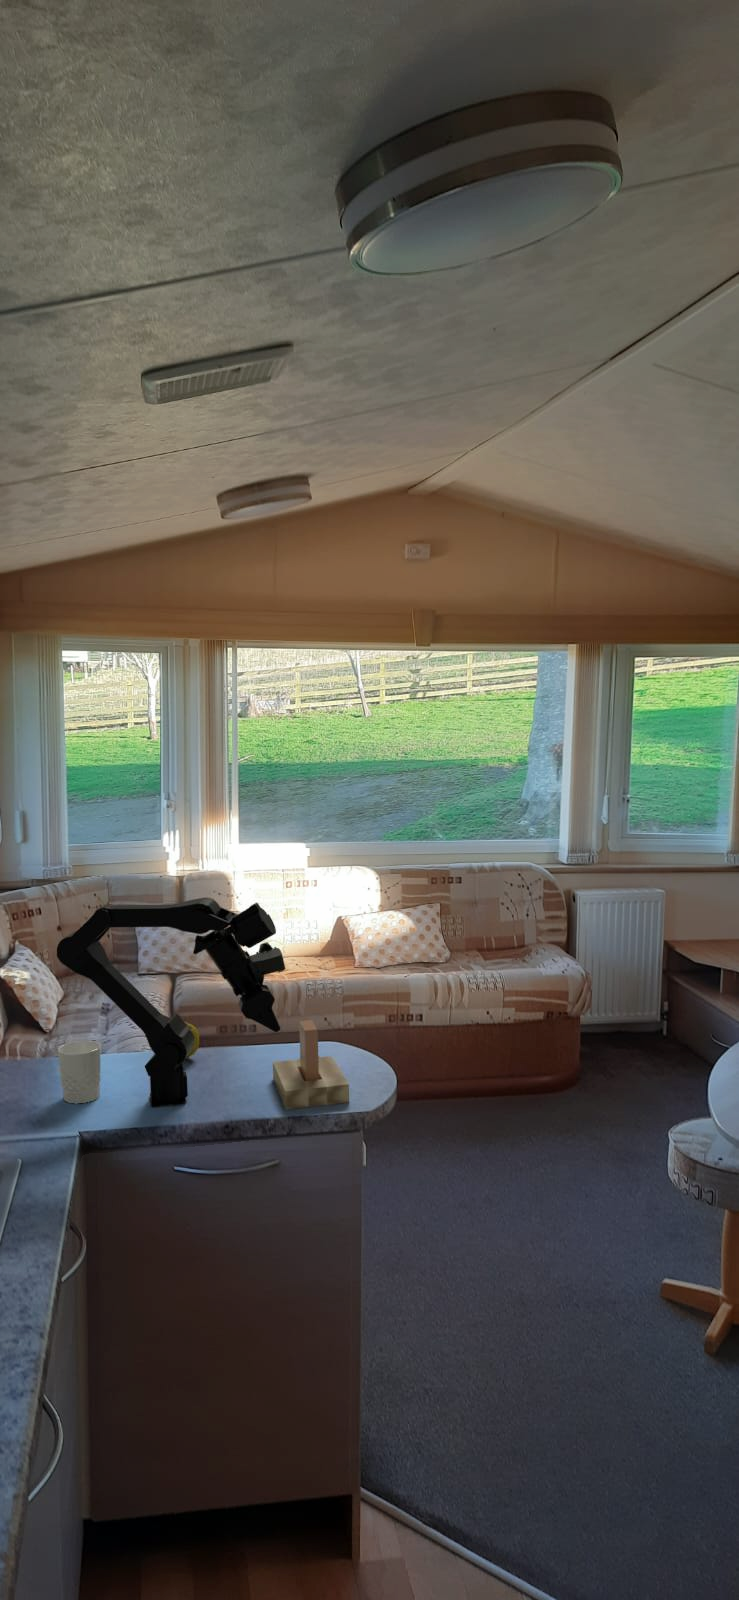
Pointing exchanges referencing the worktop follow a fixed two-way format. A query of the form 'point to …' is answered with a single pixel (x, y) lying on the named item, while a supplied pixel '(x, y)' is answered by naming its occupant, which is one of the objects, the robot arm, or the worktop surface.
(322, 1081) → the pine slot box
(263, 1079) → the worktop surface
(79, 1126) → the worktop surface
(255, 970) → the robot arm
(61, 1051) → the white cup
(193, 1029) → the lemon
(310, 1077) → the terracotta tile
